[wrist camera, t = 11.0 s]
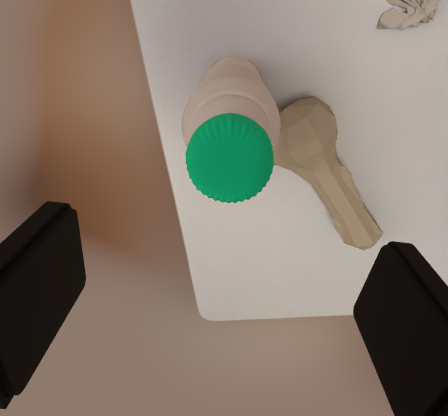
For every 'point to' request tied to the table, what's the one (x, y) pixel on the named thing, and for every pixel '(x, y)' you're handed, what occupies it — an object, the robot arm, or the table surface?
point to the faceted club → (324, 168)
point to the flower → (415, 15)
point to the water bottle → (231, 132)
